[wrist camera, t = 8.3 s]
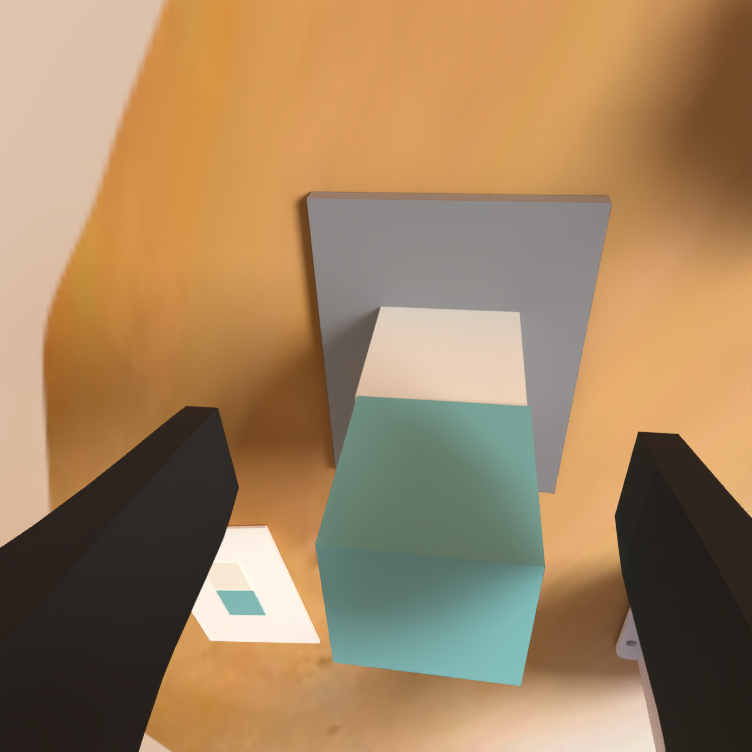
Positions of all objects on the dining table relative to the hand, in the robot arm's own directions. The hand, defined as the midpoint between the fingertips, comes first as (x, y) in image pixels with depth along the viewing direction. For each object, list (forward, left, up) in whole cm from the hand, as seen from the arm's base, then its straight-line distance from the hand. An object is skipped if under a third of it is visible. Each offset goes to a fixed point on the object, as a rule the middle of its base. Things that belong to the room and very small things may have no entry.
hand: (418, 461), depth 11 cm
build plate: (-5, 0, -11) cm, 12 cm away
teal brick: (-5, 0, -5) cm, 7 cm away
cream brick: (-5, 0, -10) cm, 11 cm away
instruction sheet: (-21, +11, -11) cm, 26 cm away
